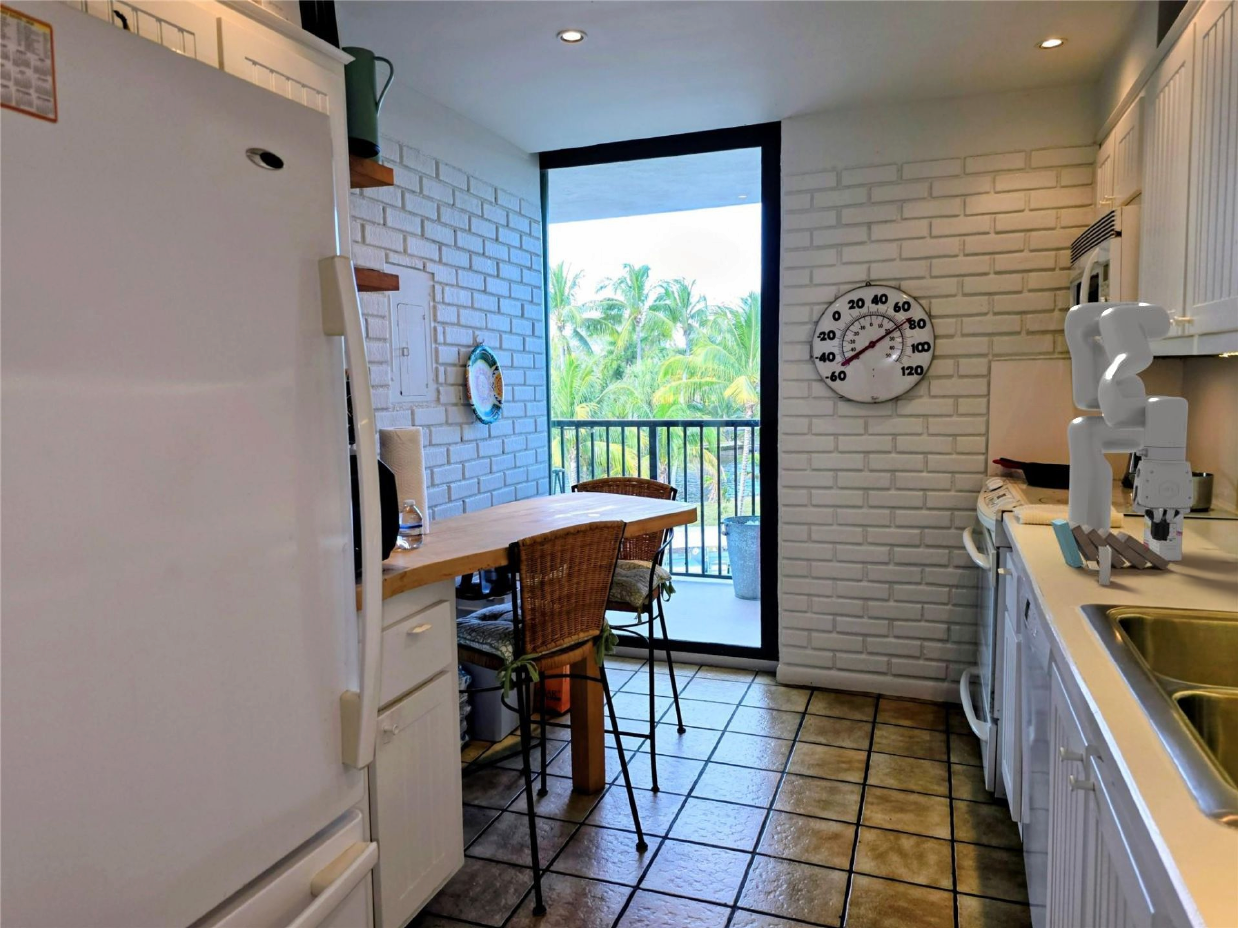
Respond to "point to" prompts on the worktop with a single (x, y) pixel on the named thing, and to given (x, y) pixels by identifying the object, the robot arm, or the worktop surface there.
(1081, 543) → the domino
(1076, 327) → the robot arm
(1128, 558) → the domino
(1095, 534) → the domino
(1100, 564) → the architectural model
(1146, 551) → the domino
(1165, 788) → the worktop surface
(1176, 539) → the ink cartridge box
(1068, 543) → the domino
